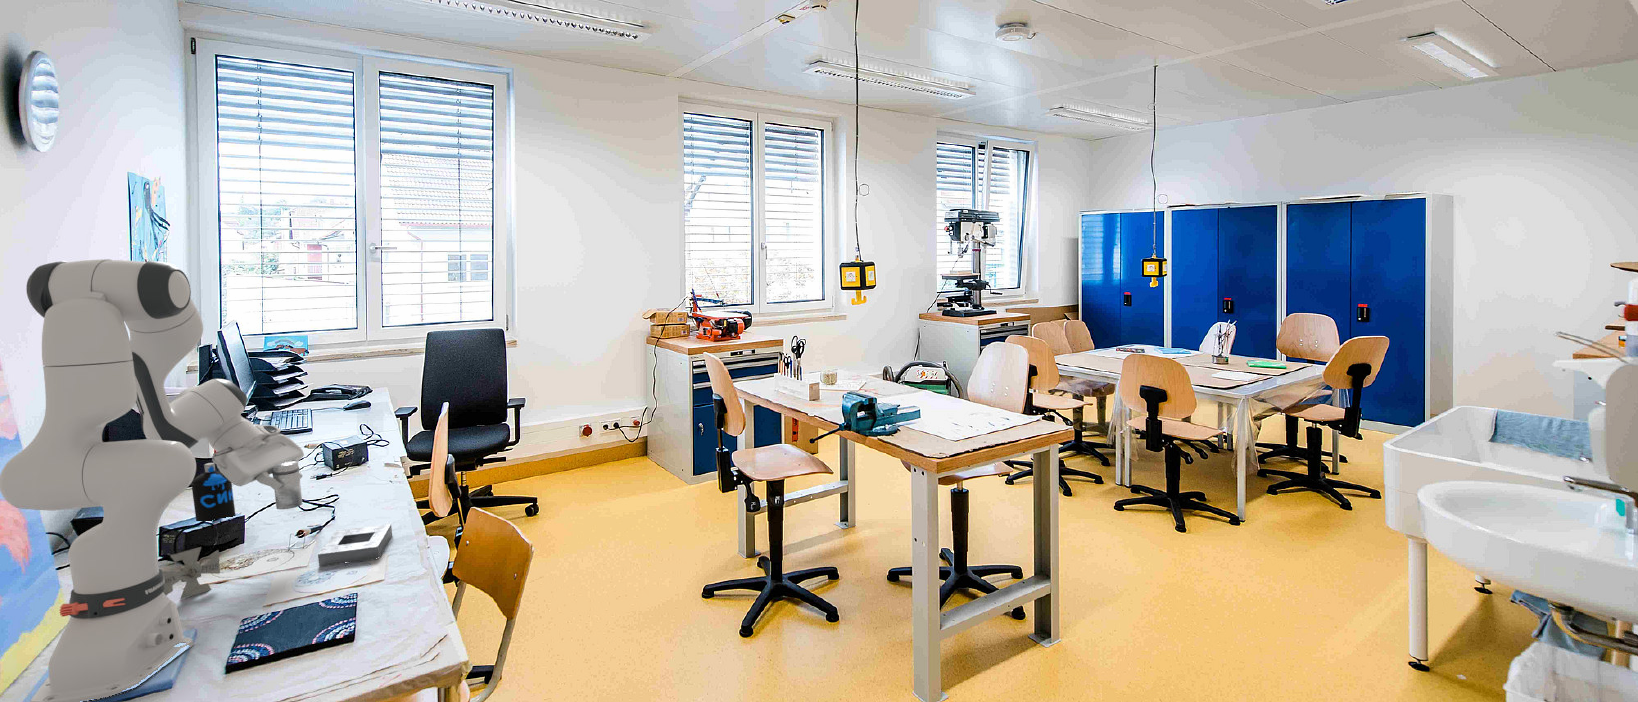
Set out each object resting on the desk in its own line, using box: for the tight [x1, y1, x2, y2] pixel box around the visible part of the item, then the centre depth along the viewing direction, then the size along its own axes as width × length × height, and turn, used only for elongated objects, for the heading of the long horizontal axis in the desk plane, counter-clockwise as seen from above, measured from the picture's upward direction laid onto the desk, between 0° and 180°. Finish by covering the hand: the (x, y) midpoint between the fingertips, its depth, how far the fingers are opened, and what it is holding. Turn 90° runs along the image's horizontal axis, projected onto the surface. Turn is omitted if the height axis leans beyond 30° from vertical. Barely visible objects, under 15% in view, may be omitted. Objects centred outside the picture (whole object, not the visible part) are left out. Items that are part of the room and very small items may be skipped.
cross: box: [162, 546, 221, 600], centre depth 156 cm, size 10×3×10 cm, turn 152°
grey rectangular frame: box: [317, 523, 393, 567], centre depth 180 cm, size 16×12×3 cm
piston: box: [272, 461, 303, 510], centre depth 174 cm, size 5×5×10 cm
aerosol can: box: [189, 462, 236, 522], centre depth 187 cm, size 8×8×20 cm
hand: (290, 483), depth 174 cm, fingers closed on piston, 5 cm apart
